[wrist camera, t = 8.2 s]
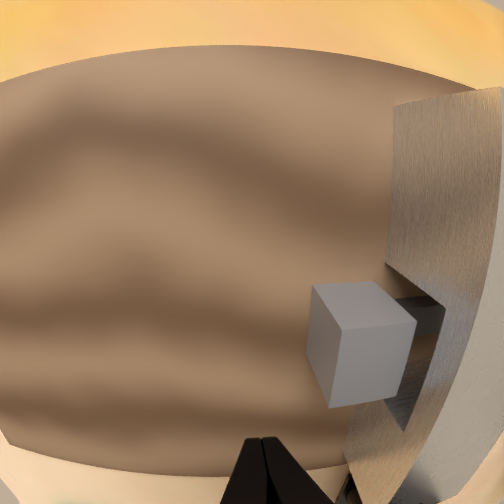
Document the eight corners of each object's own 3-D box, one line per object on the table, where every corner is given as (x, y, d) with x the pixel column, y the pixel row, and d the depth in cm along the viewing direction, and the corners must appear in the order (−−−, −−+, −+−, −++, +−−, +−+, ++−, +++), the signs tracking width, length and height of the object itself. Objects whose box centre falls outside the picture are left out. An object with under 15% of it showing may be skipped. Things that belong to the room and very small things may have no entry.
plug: (539, 313, 17) (572, 335, 13) (305, 356, 15) (327, 412, 11) (552, 263, 15) (589, 281, 12) (312, 280, 14) (342, 324, 10)
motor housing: (417, 431, 18) (456, 494, 12) (341, 449, 18) (371, 526, 12) (485, 128, 12) (583, 133, 6) (393, 105, 12) (499, 86, 6)
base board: (565, 368, 22) (570, 372, 21) (14, 436, 17) (9, 444, 16) (612, 166, 15) (619, 168, 14) (-65, 116, 10) (-76, 115, 9)
